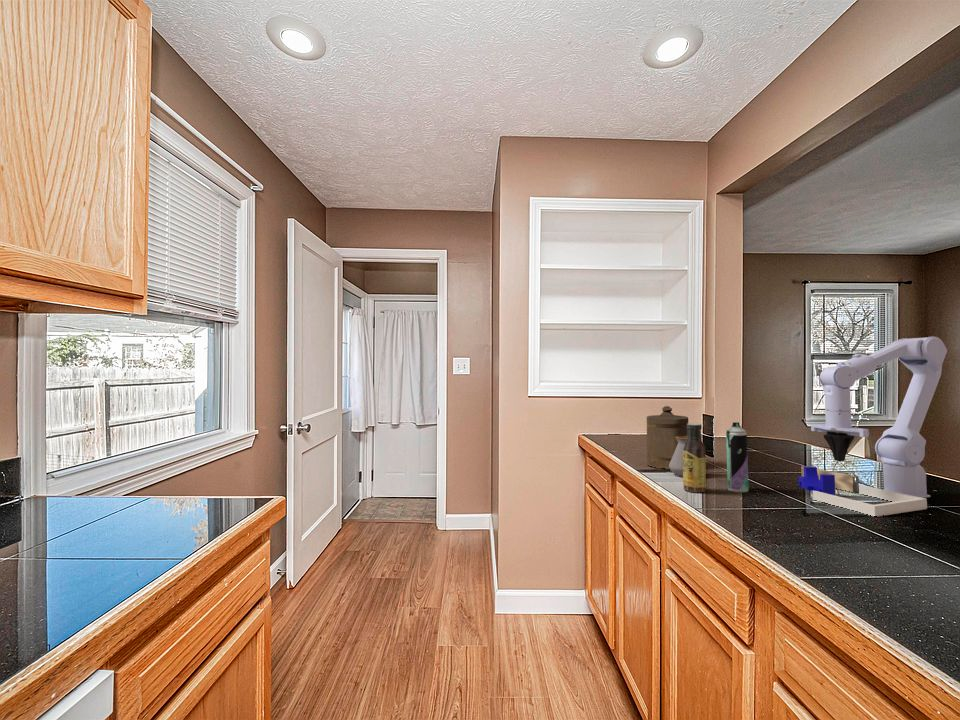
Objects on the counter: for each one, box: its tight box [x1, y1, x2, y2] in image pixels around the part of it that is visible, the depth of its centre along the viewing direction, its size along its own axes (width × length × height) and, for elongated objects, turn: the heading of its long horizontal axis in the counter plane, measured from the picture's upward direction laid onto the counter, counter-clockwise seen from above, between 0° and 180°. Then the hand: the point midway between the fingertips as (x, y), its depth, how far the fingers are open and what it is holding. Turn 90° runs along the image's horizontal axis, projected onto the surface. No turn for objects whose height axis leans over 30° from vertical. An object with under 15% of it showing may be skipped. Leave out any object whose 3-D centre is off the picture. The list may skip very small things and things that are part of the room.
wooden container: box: [646, 405, 689, 470], centre depth 187 cm, size 15×15×22 cm
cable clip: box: [798, 466, 836, 496], centre depth 146 cm, size 12×4×6 cm, turn 169°
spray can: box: [725, 421, 750, 493], centre depth 149 cm, size 6×6×20 cm
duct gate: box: [800, 465, 855, 493], centre depth 151 cm, size 16×1×4 cm, turn 17°
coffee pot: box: [669, 436, 687, 478], centre depth 166 cm, size 21×12×15 cm, turn 168°
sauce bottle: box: [682, 422, 707, 493], centre depth 149 cm, size 7×6×20 cm
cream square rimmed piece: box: [812, 475, 928, 517], centre depth 132 cm, size 18×18×5 cm
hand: (839, 460), depth 137 cm, fingers closed
